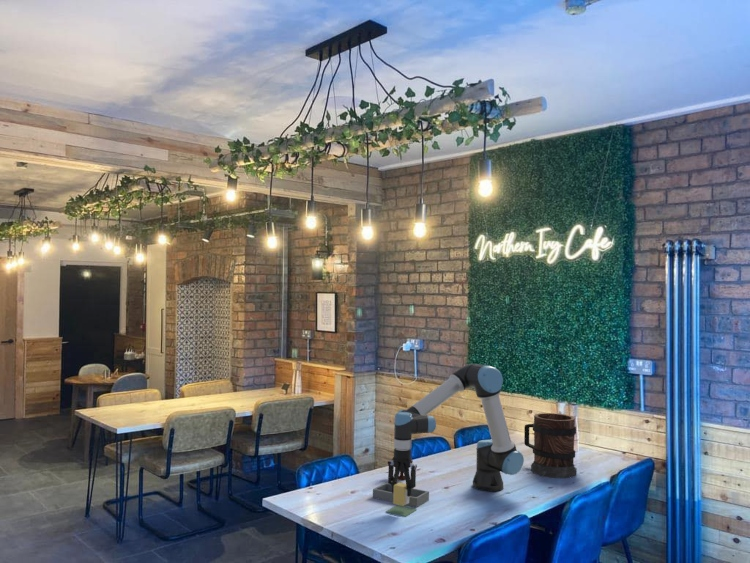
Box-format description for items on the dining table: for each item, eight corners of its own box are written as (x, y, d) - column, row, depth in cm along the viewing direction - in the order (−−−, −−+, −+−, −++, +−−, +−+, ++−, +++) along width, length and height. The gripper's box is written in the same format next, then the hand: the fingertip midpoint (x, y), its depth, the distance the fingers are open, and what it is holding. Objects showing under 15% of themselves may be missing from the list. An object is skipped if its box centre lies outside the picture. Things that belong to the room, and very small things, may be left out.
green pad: (416, 511, 271) (416, 509, 271) (405, 517, 262) (405, 516, 262) (396, 506, 276) (396, 504, 276) (385, 513, 268) (385, 511, 268)
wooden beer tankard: (562, 480, 322) (563, 423, 323) (513, 468, 343) (514, 414, 344) (584, 472, 339) (584, 417, 339) (536, 461, 360) (537, 409, 360)
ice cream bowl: (387, 479, 317) (388, 450, 317) (397, 474, 327) (397, 445, 327) (406, 483, 312) (407, 453, 312) (415, 477, 322) (416, 448, 322)
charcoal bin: (428, 501, 285) (429, 491, 285) (416, 508, 274) (417, 498, 274) (385, 492, 296) (385, 482, 297) (372, 498, 286) (372, 489, 286)
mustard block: (408, 502, 270) (409, 484, 270) (403, 505, 266) (403, 487, 266) (398, 500, 273) (399, 482, 273) (393, 503, 268) (393, 485, 269)
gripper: (424, 449, 268) (423, 504, 268) (389, 443, 278) (387, 496, 277) (416, 453, 262) (415, 508, 261) (380, 447, 271) (379, 500, 271)
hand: (401, 502), depth 269 cm, fingers closed on mustard block, 5 cm apart
